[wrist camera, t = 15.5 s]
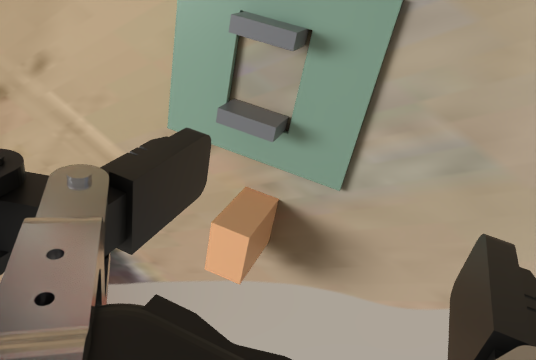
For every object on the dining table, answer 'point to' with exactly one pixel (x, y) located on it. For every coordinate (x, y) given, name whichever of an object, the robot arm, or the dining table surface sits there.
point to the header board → (311, 86)
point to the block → (240, 234)
